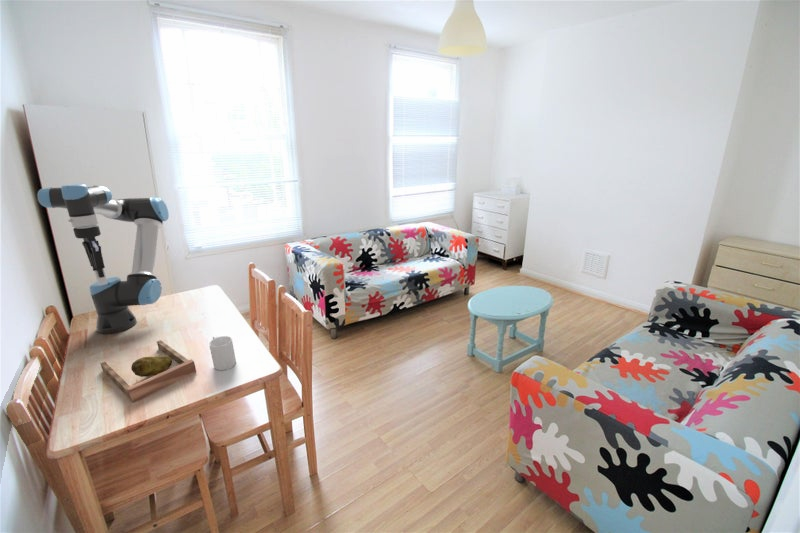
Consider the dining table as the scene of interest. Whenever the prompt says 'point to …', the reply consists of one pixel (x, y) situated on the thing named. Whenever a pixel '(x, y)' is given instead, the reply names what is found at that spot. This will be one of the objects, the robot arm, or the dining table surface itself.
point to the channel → (156, 381)
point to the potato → (151, 365)
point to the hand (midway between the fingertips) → (103, 284)
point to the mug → (222, 352)
